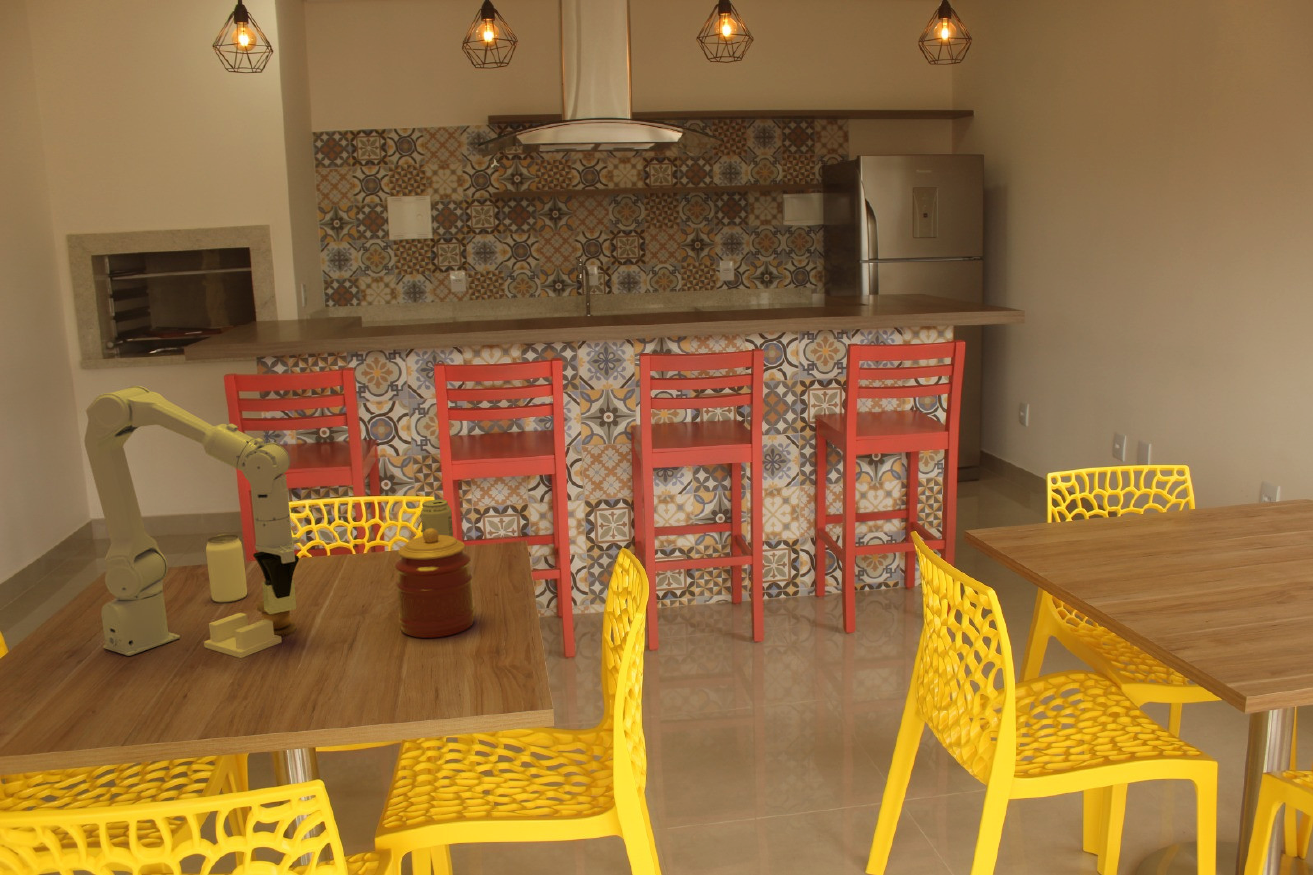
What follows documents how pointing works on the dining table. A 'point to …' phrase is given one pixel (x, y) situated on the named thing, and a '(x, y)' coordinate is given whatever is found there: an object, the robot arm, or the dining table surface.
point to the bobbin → (278, 621)
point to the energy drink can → (437, 517)
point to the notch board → (241, 636)
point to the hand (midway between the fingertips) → (279, 594)
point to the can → (226, 568)
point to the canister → (434, 586)
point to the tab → (275, 604)
